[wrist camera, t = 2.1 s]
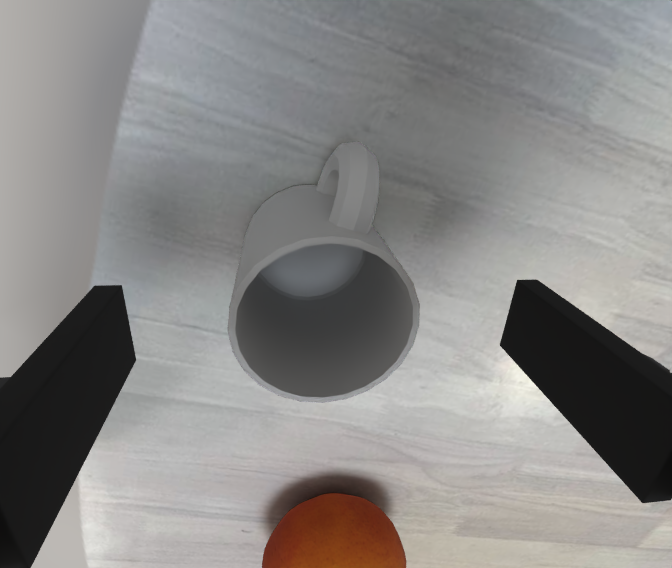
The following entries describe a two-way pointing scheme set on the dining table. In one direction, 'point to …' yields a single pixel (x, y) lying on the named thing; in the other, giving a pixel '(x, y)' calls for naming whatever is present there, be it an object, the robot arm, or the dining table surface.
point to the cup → (322, 288)
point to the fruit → (334, 536)
